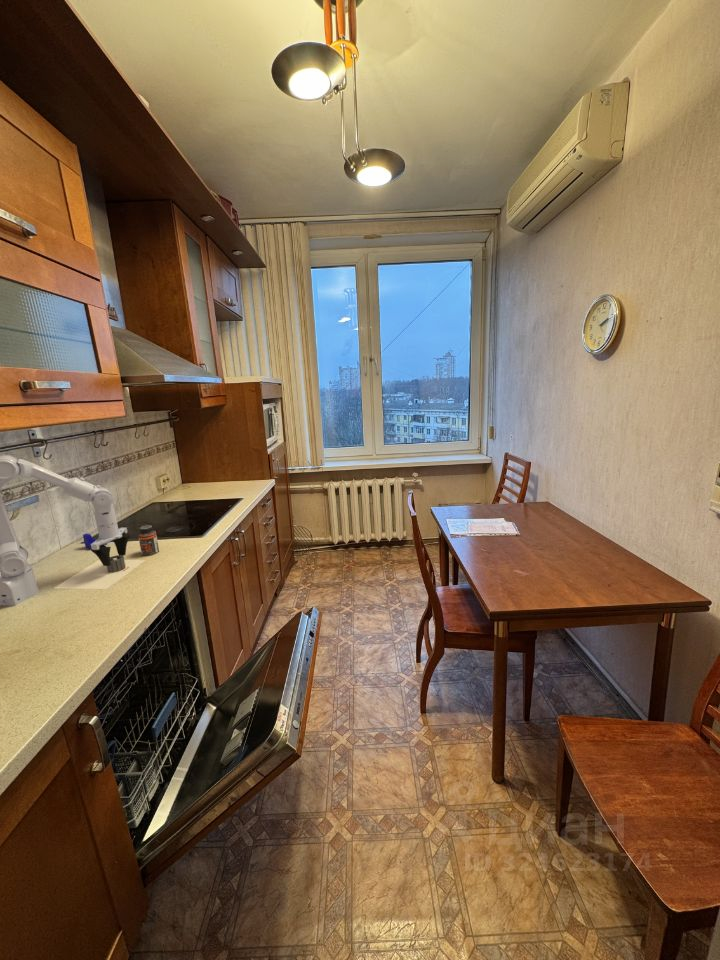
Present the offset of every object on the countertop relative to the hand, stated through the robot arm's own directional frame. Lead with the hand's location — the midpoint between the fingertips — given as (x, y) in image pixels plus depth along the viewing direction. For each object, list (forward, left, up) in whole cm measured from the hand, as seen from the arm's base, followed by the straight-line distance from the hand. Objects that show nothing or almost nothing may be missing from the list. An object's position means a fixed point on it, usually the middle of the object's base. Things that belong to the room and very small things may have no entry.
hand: (114, 560), depth 131 cm
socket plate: (-3, +3, -4) cm, 6 cm away
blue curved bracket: (+23, +23, -5) cm, 33 cm away
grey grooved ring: (0, 0, -3) cm, 3 cm away
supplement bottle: (+13, -4, -5) cm, 14 cm away
